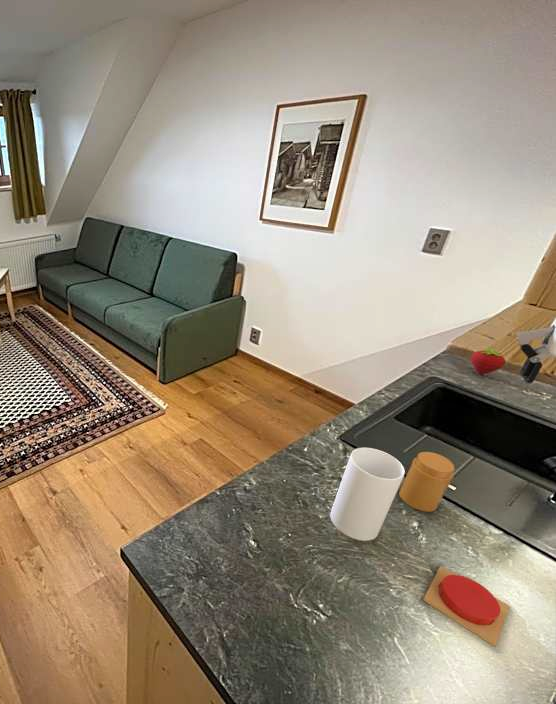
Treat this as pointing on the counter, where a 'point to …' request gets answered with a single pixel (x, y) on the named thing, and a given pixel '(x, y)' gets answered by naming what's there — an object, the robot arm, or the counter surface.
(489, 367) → the strawberry
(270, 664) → the counter surface
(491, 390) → the counter surface
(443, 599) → the lid
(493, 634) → the mat
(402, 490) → the jar
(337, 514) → the cup
